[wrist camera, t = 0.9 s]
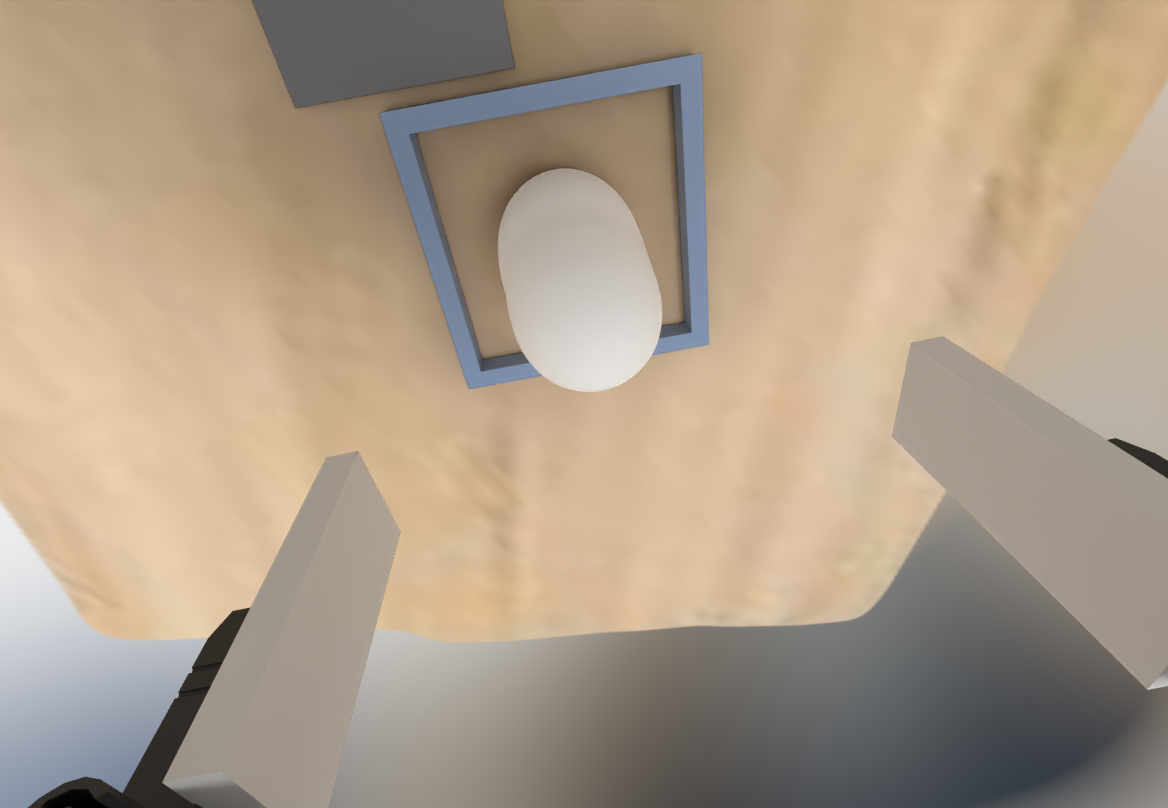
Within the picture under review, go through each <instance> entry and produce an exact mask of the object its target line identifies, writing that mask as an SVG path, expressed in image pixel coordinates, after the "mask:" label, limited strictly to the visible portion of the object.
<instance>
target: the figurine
mask: <svg viewBox="0 0 1168 808" xmlns="http://www.w3.org/2000/svg"><path fill="white" fill-rule="evenodd" d="M498 260H499V268H500V274H501V279H502V283H503V287H504V291H505V294H506V300H507V307H508V312H509V317H510V321H511V324H512V328H513V331H514V334H515V337H516V340H517V342H518V344H519V346H520V348H521V350H522V352H523V354H524V355H525V357H526V358H527V359H528V361H529V362H530V363H531V365H532V366H533V367H534V368H535V369H536V370H537V371H538V372H539V373H540V374H541V375H542V376H544V377H545V378H546V379H548V380H549V381H551V382H552V383H554V384H557V385H559V386H561V387H564V388H567V389H570V390H575V391H582V392H597V391H603V390H608V389H611V388H614V387H616V386H618V385H621V384H622V383H624V382H626V381H627V380H629V379H630V378H632V377H633V376H634V375H635V374H636V373H638V372H639V371H640V370H641V369H642V367H643V366H644V365H645V364H646V363H647V361H648V360H649V358H650V357H651V355H652V354H653V352H654V350H655V348H656V345H657V343H658V340H659V336H660V331H661V325H662V301H661V295H660V290H659V286H658V283H657V279H656V276H655V273H654V270H653V268H652V265H651V263H650V260H649V257H648V253H647V250H646V247H645V244H644V241H643V239H642V236H641V233H640V231H639V228H638V226H637V223H636V221H635V219H634V217H633V215H632V213H631V211H630V210H629V208H628V206H627V205H626V203H625V202H624V200H623V199H622V198H621V197H620V195H619V194H618V193H617V192H616V191H615V190H614V189H613V188H612V187H611V186H610V185H609V184H607V183H606V182H605V181H603V180H602V179H600V178H598V177H597V176H595V175H593V174H590V173H588V172H585V171H581V170H577V169H568V168H562V169H554V170H549V171H546V172H543V173H541V174H538V175H536V176H535V177H533V178H531V179H530V180H528V181H527V182H526V183H525V184H523V185H522V186H521V187H520V188H519V189H518V190H517V192H516V193H515V194H514V195H513V197H512V198H511V200H510V201H509V203H508V205H507V207H506V209H505V211H504V214H503V217H502V220H501V223H500V228H499V235H498Z"/></svg>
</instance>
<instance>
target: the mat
mask: <svg viewBox="0 0 1168 808" xmlns="http://www.w3.org/2000/svg"><path fill="white" fill-rule="evenodd" d="M252 2H253V5H254V7H255V10H256V12H257V15H258V17H259V20H260V22H261V24H262V27H263V29H264V32H265V34H266V37H267V39H268V42H269V44H270V47H271V49H272V52H273V54H274V57H275V59H276V62H277V64H278V67H279V69H280V72H281V74H282V77H283V79H284V82H285V84H286V87H287V89H288V92H289V94H290V97H291V99H292V102H293V104H294V107H295V108H301V107H306V106H312V105H317V104H322V103H328V102H333V101H338V100H344V99H349V98H355V97H360V96H365V95H371V94H376V93H382V92H387V91H392V90H398V89H403V88H409V87H414V86H419V85H425V84H430V83H435V82H441V81H446V80H452V79H457V78H462V77H468V76H473V75H479V74H484V73H489V72H495V71H500V70H505V69H511V68H515V67H514V62H513V57H512V52H511V46H510V41H509V36H508V31H507V25H506V20H505V15H504V10H503V5H502V0H252Z"/></svg>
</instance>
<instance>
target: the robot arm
mask: <svg viewBox="0 0 1168 808" xmlns="http://www.w3.org/2000/svg"><path fill="white" fill-rule="evenodd" d="M892 437H893V438H894V439H895V440H896V441H897V442H898V443H899V444H900V445H901V446H902V447H903V448H904V449H905V450H906V451H907V452H908V453H909V454H910V455H911V456H912V457H913V458H914V459H915V460H916V461H917V462H918V463H919V464H920V465H921V466H923V467H924V468H925V469H926V470H927V471H928V472H929V473H930V474H931V475H932V476H933V477H934V478H935V479H936V480H937V481H938V482H939V483H940V484H941V485H942V486H943V487H944V488H945V489H946V490H947V491H948V492H949V493H950V494H951V495H952V496H953V497H954V498H955V499H956V500H957V501H958V502H959V503H960V504H961V505H962V506H963V507H964V508H965V509H966V510H967V511H968V512H969V513H970V514H971V515H972V516H973V517H974V518H975V519H976V520H977V521H978V522H979V523H980V524H981V525H982V526H983V527H984V528H985V529H986V530H987V531H988V532H989V533H990V534H991V535H992V536H993V537H994V538H995V539H996V540H997V541H998V542H999V543H1000V544H1001V545H1002V546H1003V547H1004V548H1005V549H1006V550H1007V551H1008V552H1009V553H1010V554H1011V555H1012V556H1013V557H1014V558H1015V559H1017V561H1018V562H1019V563H1020V564H1021V565H1022V566H1024V568H1025V569H1026V570H1027V571H1028V572H1029V573H1030V574H1031V575H1032V576H1033V577H1034V578H1035V579H1036V580H1037V581H1038V582H1040V583H1041V585H1043V586H1044V587H1045V588H1046V589H1047V590H1048V591H1049V592H1050V593H1051V594H1052V595H1053V596H1054V597H1055V598H1056V599H1057V600H1058V601H1059V602H1060V603H1061V604H1062V605H1063V606H1064V607H1065V608H1066V609H1067V610H1068V611H1069V612H1070V613H1071V614H1072V615H1073V616H1074V617H1075V618H1076V619H1077V620H1078V621H1079V622H1080V623H1081V624H1082V625H1083V626H1084V627H1085V628H1086V629H1087V630H1088V631H1089V632H1090V633H1091V634H1092V635H1093V636H1094V637H1095V638H1096V639H1097V640H1098V641H1099V642H1100V643H1101V644H1102V645H1103V646H1104V647H1105V648H1106V649H1107V650H1108V651H1109V652H1110V653H1111V654H1112V655H1113V656H1114V657H1115V658H1116V659H1117V660H1118V661H1119V662H1120V663H1121V664H1122V665H1123V666H1124V667H1125V668H1127V670H1128V671H1129V672H1130V673H1131V674H1132V675H1133V676H1134V677H1135V678H1137V680H1138V681H1139V682H1140V683H1141V684H1142V685H1143V686H1144V687H1145V688H1146V689H1147V690H1148V689H1154V688H1159V687H1165V686H1168V461H1167V460H1165V459H1164V458H1162V457H1160V456H1159V455H1157V454H1155V453H1153V452H1150V451H1148V450H1145V449H1143V448H1140V447H1137V446H1134V445H1132V444H1129V443H1127V442H1124V441H1122V440H1119V439H1116V438H1115V439H1109V440H1106V439H1104V438H1103V437H1101V436H1100V435H1098V434H1096V433H1095V432H1093V431H1092V430H1090V429H1088V428H1087V427H1085V426H1084V425H1082V424H1081V423H1079V422H1077V421H1076V420H1074V419H1073V418H1071V417H1070V416H1068V415H1066V414H1065V413H1063V412H1062V411H1060V410H1058V409H1057V408H1055V407H1054V406H1052V405H1051V404H1049V403H1047V402H1046V401H1044V400H1043V399H1041V398H1040V397H1038V396H1036V395H1035V394H1033V393H1032V392H1030V391H1028V390H1027V389H1025V388H1024V387H1022V386H1021V385H1019V384H1017V383H1016V382H1014V381H1013V380H1011V379H1010V378H1008V377H1006V376H1005V375H1003V374H1002V373H1000V372H999V371H997V370H995V369H994V368H992V367H991V366H989V365H988V364H986V363H984V362H983V361H981V360H980V359H978V358H977V357H975V356H973V355H972V354H970V353H969V352H967V351H965V350H964V349H962V348H961V347H959V346H958V345H956V344H954V343H953V342H951V341H950V340H948V339H947V338H945V337H939V338H933V339H928V340H923V341H918V342H913V343H911V345H910V350H909V355H908V360H907V365H906V370H905V375H904V380H903V384H902V389H901V394H900V399H899V404H898V409H897V414H896V419H895V424H894V429H893V434H892ZM399 536H400V530H399V528H398V526H397V524H396V522H395V520H394V518H393V516H392V515H391V513H390V511H389V509H388V507H387V505H386V503H385V501H384V499H383V497H382V495H381V493H380V492H379V490H378V488H377V486H376V484H375V482H374V480H373V478H372V476H371V474H370V472H369V470H368V469H367V467H366V465H365V463H364V461H363V459H362V457H361V455H360V453H359V451H356V452H351V453H346V454H341V455H336V456H331V457H326V459H325V461H324V463H323V465H322V467H321V469H320V471H319V473H318V475H317V477H316V479H315V481H314V483H313V485H312V487H311V489H310V491H309V493H308V495H307V497H306V499H305V501H304V503H303V505H302V507H301V509H300V511H299V513H298V515H297V517H296V519H295V521H294V523H293V525H292V526H291V528H290V530H289V532H288V534H287V536H286V538H285V540H284V542H283V544H282V546H281V548H280V550H279V552H278V554H277V556H276V558H275V560H274V562H273V564H272V566H271V568H270V570H269V572H268V574H267V576H266V578H265V580H264V582H263V584H262V586H261V588H260V590H259V592H258V594H257V596H256V598H255V600H254V602H253V604H252V606H251V608H246V609H241V610H236V611H232V612H231V614H230V615H229V616H228V617H227V618H226V619H225V620H224V621H223V622H222V624H221V625H220V626H219V627H218V628H217V629H216V630H215V631H214V632H213V633H212V635H211V636H210V637H209V638H208V640H207V642H206V643H205V645H204V647H203V649H202V650H201V652H200V654H199V656H198V658H197V660H196V661H195V663H194V665H193V667H192V669H193V671H192V673H189V674H188V676H187V678H186V679H185V681H184V683H183V685H182V687H181V688H180V690H179V697H178V698H176V699H174V701H173V703H172V705H171V707H170V708H169V710H168V712H167V714H166V716H165V717H164V719H163V721H162V723H161V725H160V727H159V728H158V730H157V732H156V734H155V735H154V737H153V739H152V741H151V743H150V745H149V746H148V748H147V750H146V752H145V754H144V755H143V757H142V759H141V761H140V763H139V765H138V766H137V768H136V770H135V772H134V773H133V775H132V777H131V779H130V781H129V783H128V784H127V786H126V788H125V790H124V792H123V793H121V792H119V791H118V790H116V789H115V788H113V787H111V786H110V785H108V784H107V783H105V782H103V781H102V780H100V779H95V778H89V777H83V778H80V779H77V780H73V781H70V782H67V783H64V784H62V785H60V786H59V787H57V788H55V789H54V790H52V791H50V792H49V793H47V794H45V795H44V796H42V797H40V798H39V799H38V800H37V801H35V802H34V803H33V804H32V805H31V806H30V807H28V808H328V805H329V801H330V798H331V794H332V790H333V787H334V782H335V779H336V775H337V771H338V767H339V764H340V760H341V756H342V752H343V748H344V745H345V741H346V737H347V733H348V729H349V726H350V722H351V718H352V714H353V711H354V706H355V703H356V699H357V695H358V692H359V688H360V684H361V680H362V676H363V673H364V669H365V665H366V661H367V657H368V653H369V650H370V646H371V642H372V638H373V634H374V631H375V627H376V623H377V619H378V616H379V612H380V608H381V604H382V600H383V597H384V593H385V589H386V585H387V581H388V578H389V574H390V570H391V566H392V562H393V559H394V555H395V551H396V547H397V543H398V540H399Z"/></svg>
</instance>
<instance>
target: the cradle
mask: <svg viewBox="0 0 1168 808" xmlns="http://www.w3.org/2000/svg"><path fill="white" fill-rule="evenodd" d="M671 85H673V102H674V121H675V140H676V159H677V178H678V197H679V217H680V236H681V255H682V274H683V293H684V312H685V322H684V323H678V324H673V325H668V326H662V327H661V331H660V336H659V340H658V343H657V345H656V348H655V350H654V352H653V354H652V355H656V354H662V353H667V352H672V351H678V350H683V349H688V348H694V347H699V346H705V345H709V322H708V283H707V244H706V205H705V166H704V127H703V87H702V53H701V54H692V55H687V56H681V57H676V58H670V59H665V60H660V61H654V62H649V63H643V64H638V65H633V66H627V67H622V68H617V69H611V70H606V71H600V72H595V73H590V74H584V75H579V76H573V77H568V78H563V79H557V80H552V81H547V82H541V83H536V84H530V85H525V86H520V87H514V88H509V89H503V90H498V91H493V92H487V93H482V94H476V95H471V96H466V97H460V98H455V99H450V100H444V101H439V102H433V103H428V104H423V105H417V106H412V107H406V108H401V109H396V110H390V111H385V112H382V113H379V115H380V118H381V121H382V124H383V127H384V130H385V134H386V137H387V140H388V143H389V146H390V149H391V152H392V155H393V158H394V161H395V164H396V167H397V170H398V174H399V177H400V180H401V183H402V186H403V189H404V192H405V195H406V198H407V201H408V204H409V207H410V210H411V213H412V217H413V220H414V223H415V226H416V229H417V232H418V235H419V238H420V241H421V244H422V247H423V250H424V253H425V256H426V260H427V263H428V266H429V269H430V272H431V275H432V278H433V281H434V284H435V287H436V290H437V293H438V296H439V299H440V303H441V306H442V309H443V312H444V315H445V318H446V321H447V324H448V327H449V330H450V333H451V336H452V339H453V343H454V346H455V349H456V352H457V355H458V358H459V361H460V364H461V367H462V370H463V373H464V376H465V379H466V382H467V386H468V389H473V388H479V387H484V386H490V385H495V384H500V383H506V382H511V381H516V380H522V379H527V378H533V377H538V376H542V375H541V374H540V373H539V372H538V371H537V370H536V369H535V368H534V367H533V366H532V365H531V363H530V362H529V361H528V359H527V358H526V357H525V355H524V354H523V352H522V353H517V354H512V355H506V356H501V357H495V358H490V359H485V360H482V356H481V353H480V350H479V346H478V343H477V339H476V336H475V333H474V329H473V326H472V323H471V319H470V316H469V313H468V309H467V306H466V302H465V299H464V296H463V292H462V289H461V286H460V282H459V279H458V276H457V272H456V269H455V265H454V262H453V259H452V255H451V252H450V249H449V245H448V242H447V239H446V235H445V232H444V228H443V225H442V222H441V218H440V215H439V212H438V208H437V205H436V202H435V198H434V195H433V192H432V188H431V185H430V181H429V178H428V175H427V171H426V168H425V165H424V161H423V158H422V155H421V151H420V148H419V144H418V141H417V138H416V134H415V133H418V132H424V131H429V130H434V129H440V128H445V127H450V126H456V125H461V124H467V123H472V122H477V121H483V120H488V119H494V118H499V117H504V116H510V115H515V114H520V113H526V112H531V111H537V110H542V109H547V108H553V107H558V106H564V105H569V104H574V103H580V102H585V101H590V100H596V99H601V98H607V97H612V96H617V95H623V94H628V93H634V92H639V91H644V90H650V89H655V88H660V87H666V86H671Z"/></svg>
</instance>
